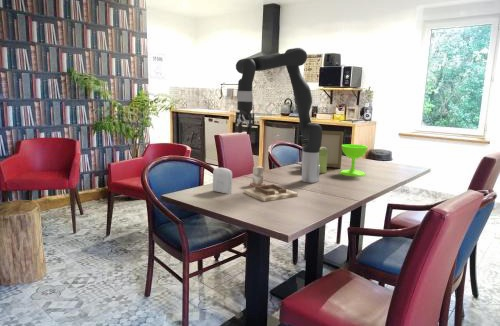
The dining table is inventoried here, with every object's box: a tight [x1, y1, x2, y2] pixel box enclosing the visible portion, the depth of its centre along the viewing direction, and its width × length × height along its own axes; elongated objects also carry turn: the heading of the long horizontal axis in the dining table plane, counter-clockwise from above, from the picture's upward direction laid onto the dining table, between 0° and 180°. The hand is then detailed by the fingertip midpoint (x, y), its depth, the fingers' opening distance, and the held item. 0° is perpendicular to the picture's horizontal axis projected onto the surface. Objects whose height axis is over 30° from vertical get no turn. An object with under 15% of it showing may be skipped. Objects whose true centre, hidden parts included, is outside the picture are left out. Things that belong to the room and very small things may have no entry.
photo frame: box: [321, 130, 344, 169], centre depth 259 cm, size 15×22×25 cm
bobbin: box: [249, 165, 266, 188], centre depth 201 cm, size 6×6×10 cm
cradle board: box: [243, 184, 299, 203], centre depth 183 cm, size 20×18×3 cm
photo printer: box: [212, 167, 233, 195], centre depth 185 cm, size 10×4×12 cm, turn 60°
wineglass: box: [339, 143, 369, 178], centre depth 235 cm, size 16×16×18 cm
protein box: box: [300, 146, 328, 174], centre depth 241 cm, size 10×15×16 cm
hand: (244, 133), depth 184 cm, fingers open, 8 cm apart
